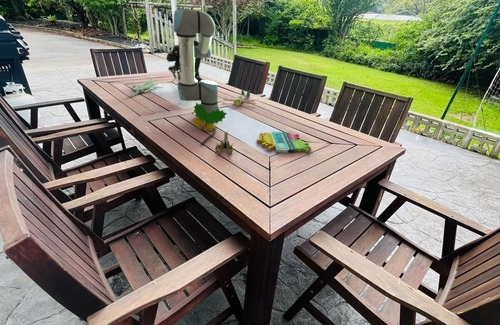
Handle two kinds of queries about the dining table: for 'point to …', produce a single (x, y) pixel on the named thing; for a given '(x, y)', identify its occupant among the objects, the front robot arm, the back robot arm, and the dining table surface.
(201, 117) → the ornament
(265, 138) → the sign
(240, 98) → the toy
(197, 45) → the back robot arm
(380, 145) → the dining table surface
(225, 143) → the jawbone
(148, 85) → the airplane
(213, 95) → the front robot arm
